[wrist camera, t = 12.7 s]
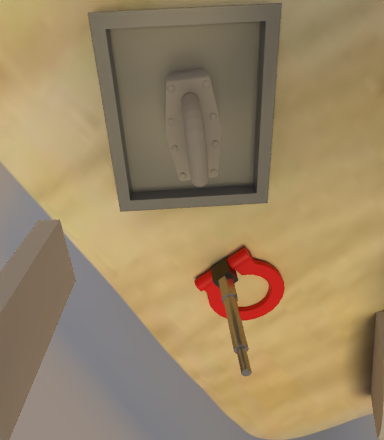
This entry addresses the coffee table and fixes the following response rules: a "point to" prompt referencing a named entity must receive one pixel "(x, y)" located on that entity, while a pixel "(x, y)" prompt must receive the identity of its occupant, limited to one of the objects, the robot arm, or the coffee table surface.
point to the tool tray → (156, 98)
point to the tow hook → (227, 297)
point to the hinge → (378, 375)
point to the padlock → (192, 125)
